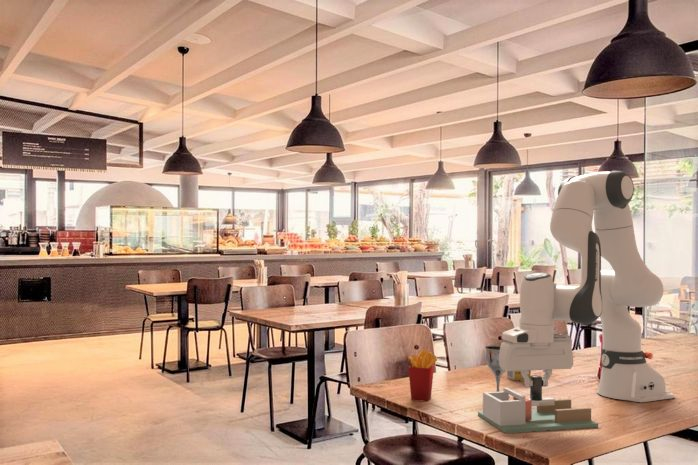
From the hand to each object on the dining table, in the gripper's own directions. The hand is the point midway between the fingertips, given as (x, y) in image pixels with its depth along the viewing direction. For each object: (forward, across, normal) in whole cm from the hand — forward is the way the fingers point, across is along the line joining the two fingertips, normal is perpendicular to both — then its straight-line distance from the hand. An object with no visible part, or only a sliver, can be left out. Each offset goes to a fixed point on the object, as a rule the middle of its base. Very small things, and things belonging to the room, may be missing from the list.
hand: (536, 386), depth 162 cm
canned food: (+9, -21, -48) cm, 53 cm away
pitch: (+9, 0, 0) cm, 9 cm away
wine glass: (+9, -2, -26) cm, 28 cm away
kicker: (+8, 0, 0) cm, 8 cm away
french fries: (+10, +21, -28) cm, 36 cm away
